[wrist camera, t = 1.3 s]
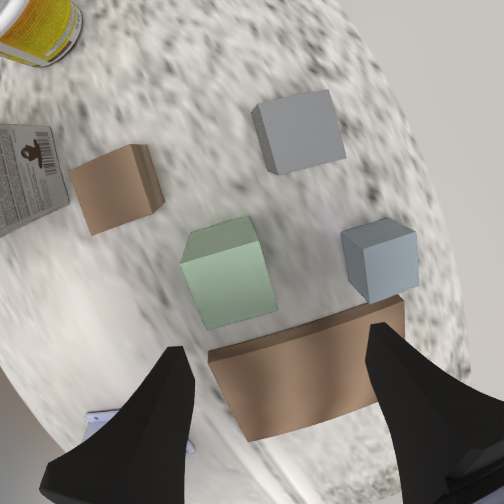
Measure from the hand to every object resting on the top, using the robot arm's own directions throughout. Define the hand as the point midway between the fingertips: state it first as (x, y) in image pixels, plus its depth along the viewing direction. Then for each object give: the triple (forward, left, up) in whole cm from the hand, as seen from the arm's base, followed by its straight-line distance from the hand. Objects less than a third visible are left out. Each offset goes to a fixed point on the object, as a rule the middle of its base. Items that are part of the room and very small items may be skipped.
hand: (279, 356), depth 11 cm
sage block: (-1, +1, -11) cm, 11 cm away
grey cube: (+5, +8, -11) cm, 14 cm away
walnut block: (-6, +8, -11) cm, 15 cm away
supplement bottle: (-9, +21, -11) cm, 26 cm away
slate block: (+9, -2, -11) cm, 14 cm away
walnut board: (+3, -12, -11) cm, 16 cm away
